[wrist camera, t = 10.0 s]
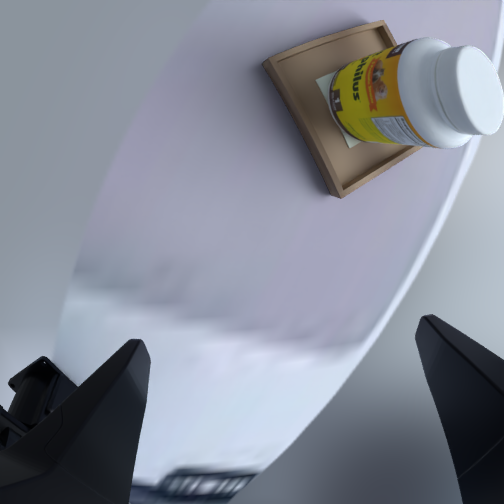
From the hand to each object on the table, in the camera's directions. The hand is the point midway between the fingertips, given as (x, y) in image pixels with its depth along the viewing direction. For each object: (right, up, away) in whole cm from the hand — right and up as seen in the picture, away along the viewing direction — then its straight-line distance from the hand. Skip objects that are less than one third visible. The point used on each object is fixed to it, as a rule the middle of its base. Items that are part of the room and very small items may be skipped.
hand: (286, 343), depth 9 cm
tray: (+6, +13, +9) cm, 17 cm away
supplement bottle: (+6, +13, +9) cm, 17 cm away
